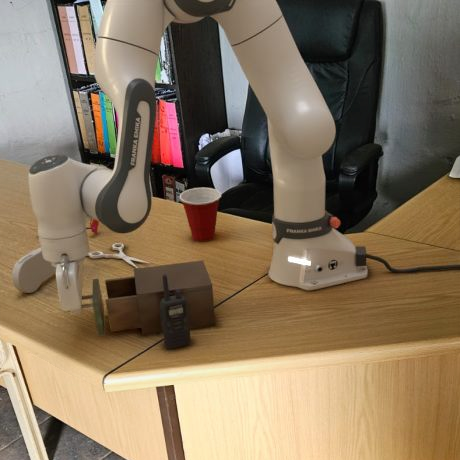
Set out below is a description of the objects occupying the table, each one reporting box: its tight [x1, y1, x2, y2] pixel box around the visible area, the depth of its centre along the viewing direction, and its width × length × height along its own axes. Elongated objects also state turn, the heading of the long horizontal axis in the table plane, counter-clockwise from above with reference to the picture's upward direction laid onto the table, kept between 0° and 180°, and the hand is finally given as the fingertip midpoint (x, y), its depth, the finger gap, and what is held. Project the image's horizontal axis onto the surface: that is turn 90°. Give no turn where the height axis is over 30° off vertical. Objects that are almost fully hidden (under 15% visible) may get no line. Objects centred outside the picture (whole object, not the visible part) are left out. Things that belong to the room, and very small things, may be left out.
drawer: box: [66, 275, 142, 337], centre depth 128 cm, size 19×11×7 cm, turn 100°
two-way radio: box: [159, 274, 192, 350], centre depth 119 cm, size 6×4×15 cm
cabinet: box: [133, 259, 216, 337], centre depth 130 cm, size 15×13×9 cm
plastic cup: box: [179, 187, 222, 242], centre depth 167 cm, size 11×11×12 cm
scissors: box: [85, 242, 150, 269], centre depth 160 cm, size 11×1×20 cm
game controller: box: [11, 246, 56, 294], centre depth 150 cm, size 20×2×8 cm, turn 156°
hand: (77, 310), depth 128 cm, fingers closed, pressing on drawer
